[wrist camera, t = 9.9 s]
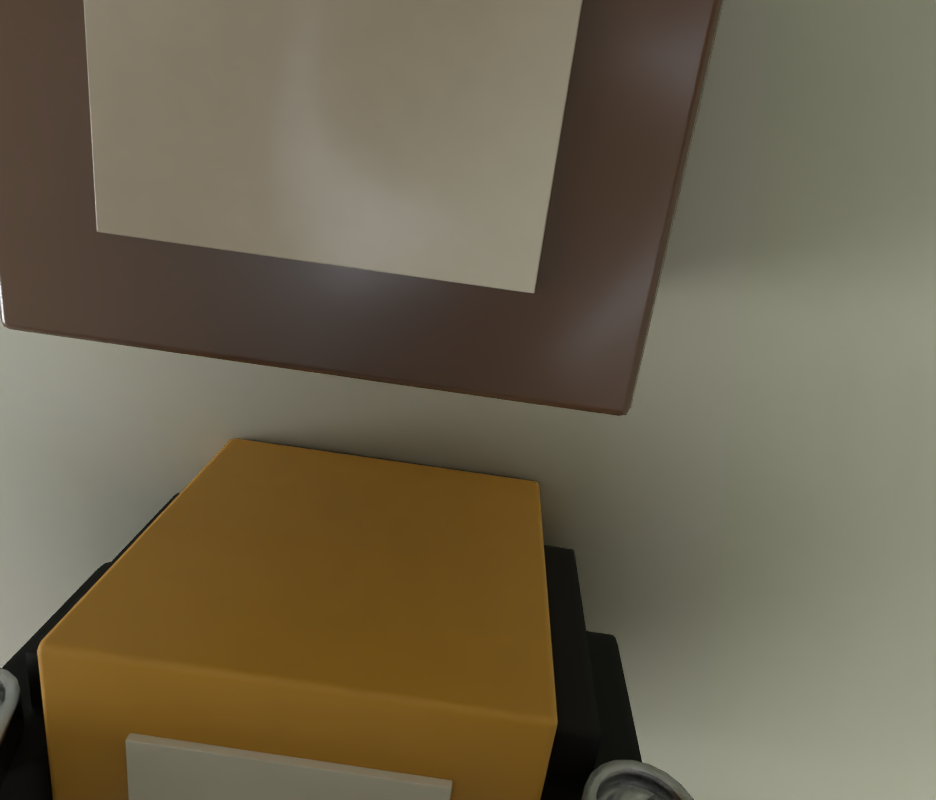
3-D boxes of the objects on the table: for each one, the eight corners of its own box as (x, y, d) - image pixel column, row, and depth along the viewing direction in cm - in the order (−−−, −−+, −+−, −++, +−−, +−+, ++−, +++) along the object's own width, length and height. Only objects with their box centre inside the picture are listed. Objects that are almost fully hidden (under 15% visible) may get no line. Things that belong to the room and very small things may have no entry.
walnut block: (652, -122, 8) (837, -468, 4) (576, 290, 10) (633, 426, 5) (238, -178, 8) (-120, -591, 4) (234, 242, 10) (-13, 333, 5)
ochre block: (540, 479, 11) (560, 731, 6) (495, 720, 13) (485, 1058, 8) (231, 435, 11) (24, 651, 7) (228, 681, 13) (64, 993, 8)
